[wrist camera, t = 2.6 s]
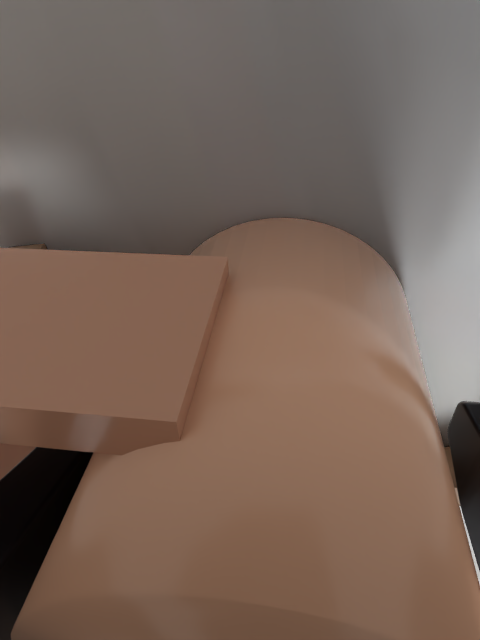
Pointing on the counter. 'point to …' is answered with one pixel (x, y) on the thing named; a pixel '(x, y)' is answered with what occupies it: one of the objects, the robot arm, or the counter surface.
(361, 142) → the counter surface
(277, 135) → the counter surface
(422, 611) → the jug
